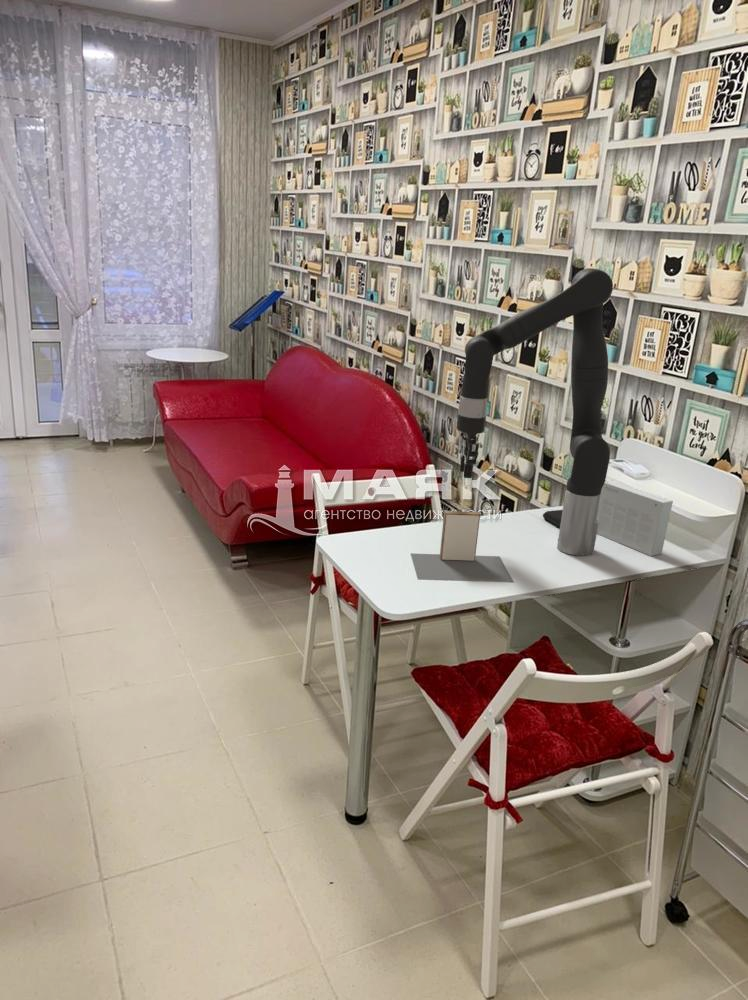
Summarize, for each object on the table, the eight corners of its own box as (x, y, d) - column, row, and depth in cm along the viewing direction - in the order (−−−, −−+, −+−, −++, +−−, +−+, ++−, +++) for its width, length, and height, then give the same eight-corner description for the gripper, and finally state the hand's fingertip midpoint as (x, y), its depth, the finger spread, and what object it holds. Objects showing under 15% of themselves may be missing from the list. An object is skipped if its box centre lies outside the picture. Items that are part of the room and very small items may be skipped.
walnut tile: (473, 558, 198) (478, 512, 194) (474, 561, 196) (480, 514, 192) (439, 557, 198) (444, 510, 193) (440, 560, 196) (445, 513, 191)
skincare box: (663, 553, 212) (674, 500, 207) (651, 557, 209) (662, 503, 204) (603, 529, 228) (612, 479, 223) (591, 531, 225) (600, 481, 220)
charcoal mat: (499, 558, 201) (499, 556, 201) (513, 584, 186) (514, 582, 186) (410, 555, 199) (410, 553, 199) (417, 581, 184) (417, 579, 184)
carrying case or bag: (597, 533, 225) (567, 516, 238) (599, 523, 224) (569, 507, 237) (568, 536, 221) (539, 519, 234) (569, 526, 220) (540, 509, 233)
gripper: (491, 420, 193) (484, 483, 199) (480, 408, 207) (474, 467, 212) (463, 418, 193) (456, 482, 198) (453, 407, 206) (447, 466, 212)
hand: (465, 474), depth 205 cm, fingers open, 5 cm apart
